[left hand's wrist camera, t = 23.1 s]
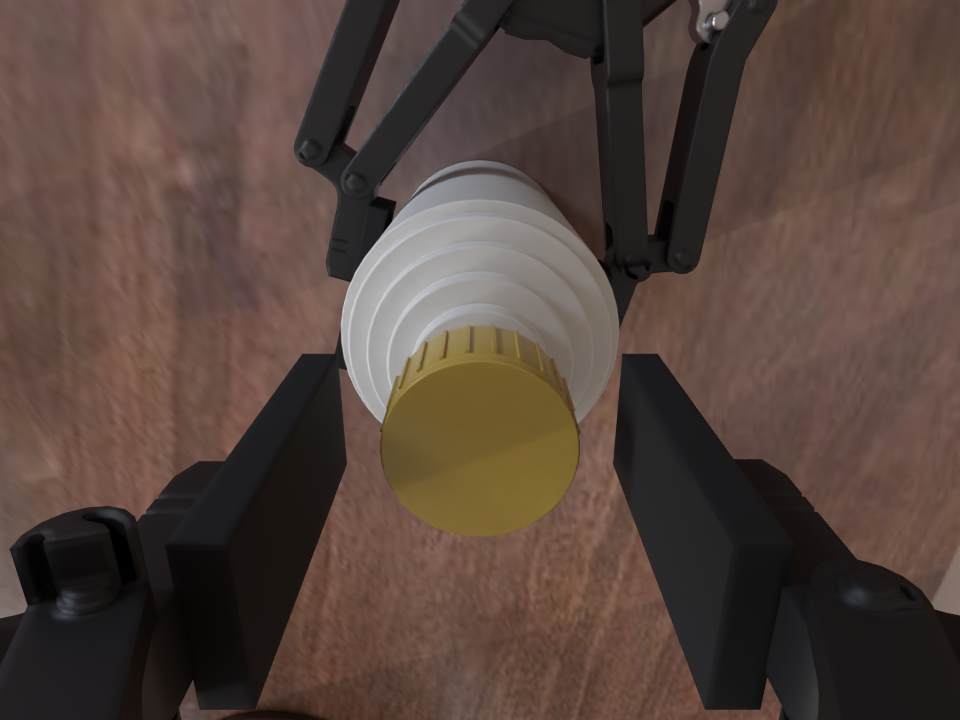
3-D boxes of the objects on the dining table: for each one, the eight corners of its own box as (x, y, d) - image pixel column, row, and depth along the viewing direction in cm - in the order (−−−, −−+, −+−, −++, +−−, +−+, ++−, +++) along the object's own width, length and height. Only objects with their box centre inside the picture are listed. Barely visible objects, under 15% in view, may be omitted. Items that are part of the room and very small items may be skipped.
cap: (574, 323, 14) (590, 359, 12) (563, 484, 15) (575, 540, 13) (387, 321, 14) (372, 357, 12) (394, 482, 15) (382, 538, 13)
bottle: (596, 245, 32) (753, 431, 13) (480, 354, 34) (480, 643, 15) (479, 122, 29) (479, 145, 11) (364, 245, 32) (207, 432, 13)
